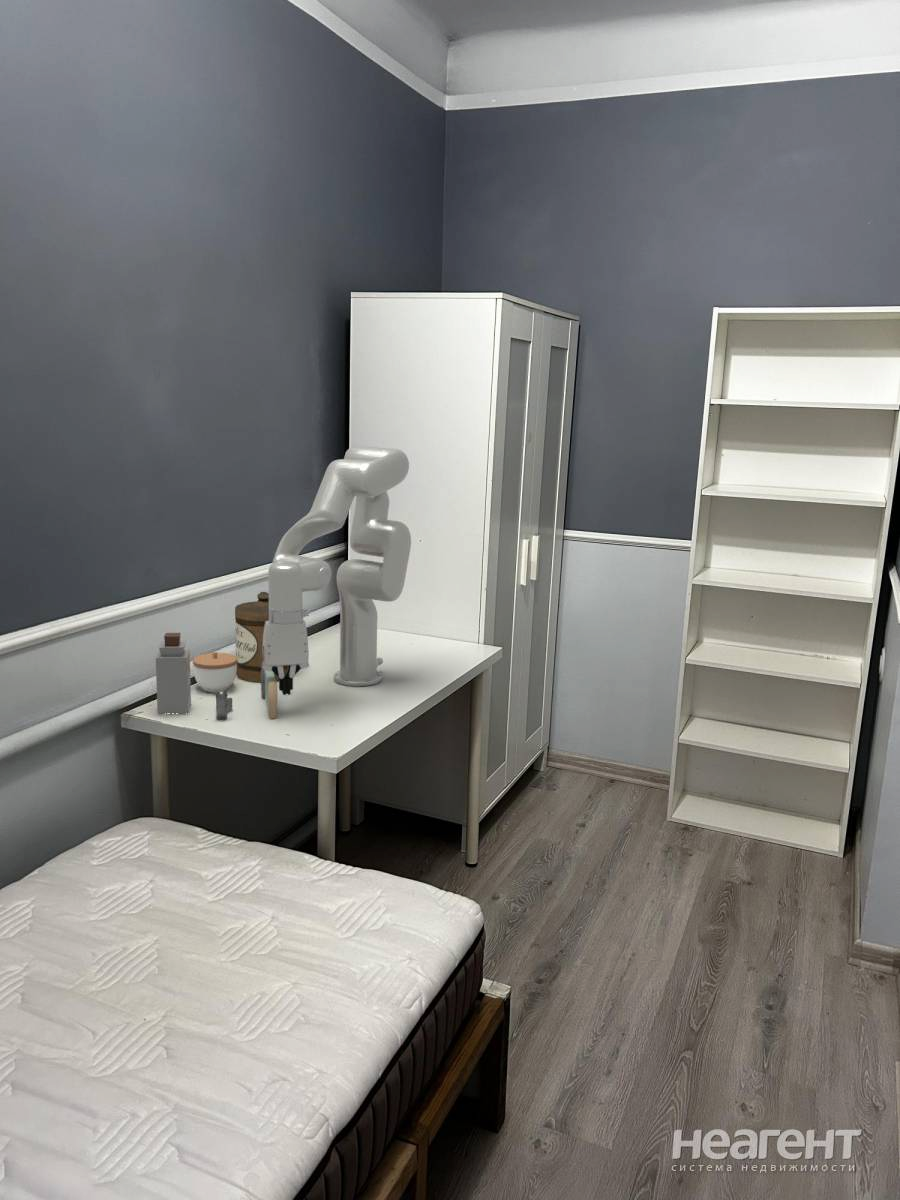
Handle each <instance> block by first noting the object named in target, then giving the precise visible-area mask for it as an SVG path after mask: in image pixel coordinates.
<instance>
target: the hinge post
mask: <svg viewBox="0 0 900 1200" xmlns="http://www.w3.org/2000/svg"><path fill="white" fill-rule="evenodd" d="M262 665H263V662H262V663H261V682H260V683H261V684H260V687H261V688H260V691H261V692H260V694H261V695H260V696H261V699H262V700H265V672H264V670H263V668H262ZM273 673H274V672H273Z"/></svg>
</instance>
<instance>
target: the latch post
mask: <svg viewBox="0 0 900 1200" xmlns="http://www.w3.org/2000/svg"><path fill="white" fill-rule="evenodd" d="M215 702H216V703H215V704H216V705H215V708H216V709H215V710H216V711H215V714H216V717H215V718H216V720H217V721H226V720H228V713H230V712H232V711H233V698H232V697H228V693H227V692H226V691H218V692H215Z"/></svg>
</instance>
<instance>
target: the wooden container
mask: <svg viewBox="0 0 900 1200" xmlns="http://www.w3.org/2000/svg"><path fill="white" fill-rule="evenodd" d="M256 598H257V599H258V600H257V601H248V602H242V603H240V604H236V606H235V607H234V618H235V620H234V621H235V656H236V657H237V673H236V677H237V676H238V678H239V679H241V680H244V681H246V680H247V681H248V682H252V681H253V682H254V683H261V663H262V662H263V661H264V660H263V655H262V650H263V633H264V626H265V622H266V621H269V592H267V591H261V592H259V593H257V595H256ZM283 671H284V674H285V676H286V674H287V672H288V666H283ZM274 676H275V679H276V682H279V677H278V676H277V675H276V674H275V673H274ZM247 681H246V682H247ZM253 682H252V683H253Z"/></svg>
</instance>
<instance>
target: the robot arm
mask: <svg viewBox="0 0 900 1200" xmlns="http://www.w3.org/2000/svg"><path fill="white" fill-rule="evenodd" d="M409 470H410V462H409V458H408V456H407V454H406V453H405V452H404V451H402V450H401V449H398V448H392V447H391V448H390V447H387V448H386V447H377V446H376V447H375V446H364V445H363V446H360V445H359V446H353V447H350V448H348V449H347V450H346V451H345V455H344V457H343V459H342V458H341V459H336V460H333V461H331V462H330V463H329V465H328V466H327V467H326V470H325V473H324V476H323V478H322V480H321V482H320V486H319V488H318V491H317V493H316V495H315V497H314V501H313V503H312V505H311V506H312V507H311V508H310V511H309V512H308V513H307V514H306V515H305V516H303V517H302V518H301V519H299V520H298V521H297V522H296V523H294V525H293V526H291V527H290V528H289V529H288V531H286V533H285V534H284V535H283V536H282V538H281V540H280V542H279V544H278V546H277V548H276V551H275V553H274V557H273V559H272V564H270V565H269V567H268V573H267V574H268V578H267V579H268V593H269V621H266V622H265V626H264V633H263V650H262V655H263V660H264V661H263V665H262V668H263V670H265V671H272V672H274V673H275V674H276V675H277V676H278V677H279V681H278V689H279V691H281V693H282V695H283V696H287V695H288V696H289V695H291V691H292V690H293V689H294V677H295V676H296V675H297V674H298V672H300V671H301V670H304V669H308V668H309V667H310V663H309V656H310V655H309V653H310V652H309V641H308V639H309V638H308V630H307V625H306V621H305V620H304V618H306V617H309V616H310V615H309V614H310V613H309V610H305V609H303V593H304V592H317V591H320V590H323V589H324V588H326V587H327V586H328V585H329V584H330V582H331V580H332V576H333V574H332V568H331V566H330V565H329V564H328V562H326V561H325V560H323V559H320V558H315V557H309V556H303V555H299V554H300V553H301V551H302V550H303V549H304V547H305V546H306V545H308V544H309V543H310V542H311V541H314V540H315V539H317V538H320V537H322V536H325V535H327V534H330V533H333V532H336V531H338V530H340V529H342V528H343V526H344V525H345V523H346V519H347V517H348V514H349V512H350V509H351V506H352V503H353V501H354V498H355V507H354V511H353V512H354V513H353V519H352V523H351V529H350V534H349V535H350V536H349V545H350V548H351V550H352V551H353V552H355V553H357V554H360V555H364V556H365V555H366V556H371V557H378V558H383V561H382V562H379V561H373V560H367V559H360V558H359V559H357V558H356V559H355V558H354V559H348V560H345V561H344V562H342V563H341V564H340V566H339V567H338V569H337V571H336V586H337V590H338V596H339V597H338V598H339V606H340V608H339V609H340V619H339V621H340V622H339V670H337V671H336V672H334V673H333V680H334V681H335V682H336V683H338V684H341V685H345V686H349V687H365V686H366V687H367V686H374V685H377V684H378V683H380V682H381V681H382V680H383V674H382V672H381V671H378V666H381V665H383V663H384V660H383V658H382V657H377V655H378V652H377V651H378V611H377V608H376V605H375V602H374V601H380V602H386V603H388V602H394V601H397V600H398V599H399V598H400V596H401V594H402V592H403V590H404V587H405V586H404V585H405V581H406V576H407V572H408V571H407V570H408V565H409V561H410V553H411V547H412V536H411V532H410V529H409V527H408V526H407V525H406V524H405V523H403V522H401V521H397V520H391V519H388V515H389V508H390V497H389V494H388V491H389V490H391V489H393V488H395V487H397V486H398V485H399V484H401V483H402V482H403V481H404V480H405V478H406V477H407V476H408V473H409ZM283 666H288V672H287V674H286V676H285V674H284V671H283Z"/></svg>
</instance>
